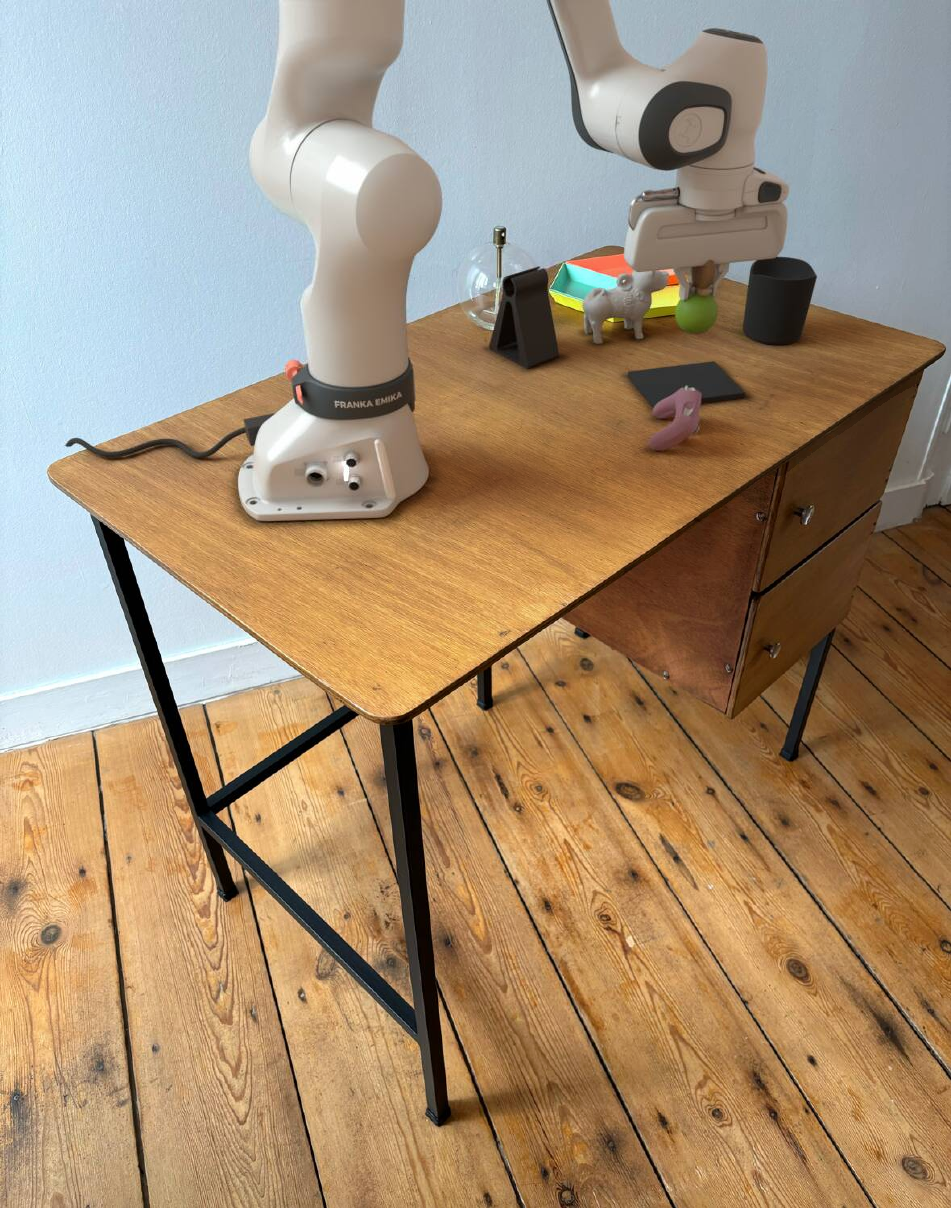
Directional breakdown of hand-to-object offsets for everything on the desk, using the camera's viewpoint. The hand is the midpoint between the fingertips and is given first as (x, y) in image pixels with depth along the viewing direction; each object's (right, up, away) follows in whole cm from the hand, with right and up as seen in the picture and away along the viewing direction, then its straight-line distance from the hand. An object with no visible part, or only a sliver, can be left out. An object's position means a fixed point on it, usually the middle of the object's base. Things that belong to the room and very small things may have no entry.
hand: (697, 297), depth 123 cm
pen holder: (+16, +1, +21) cm, 27 cm away
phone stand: (-22, -3, +17) cm, 28 cm away
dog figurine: (-7, +1, +22) cm, 23 cm away
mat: (0, -10, +8) cm, 13 cm away
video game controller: (-4, -18, -2) cm, 19 cm away
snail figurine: (0, -4, +3) cm, 5 cm away
